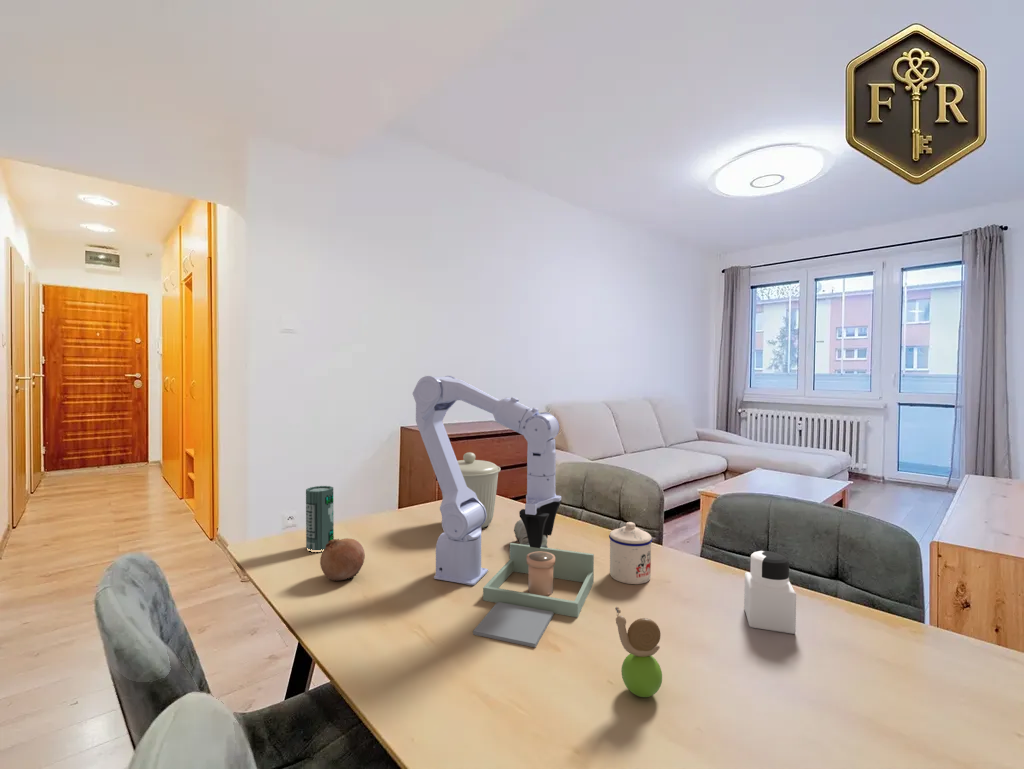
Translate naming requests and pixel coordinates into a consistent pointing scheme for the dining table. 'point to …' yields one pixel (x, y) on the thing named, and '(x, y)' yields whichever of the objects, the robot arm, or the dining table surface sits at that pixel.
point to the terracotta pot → (540, 573)
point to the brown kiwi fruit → (342, 559)
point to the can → (319, 517)
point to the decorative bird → (525, 534)
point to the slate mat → (514, 624)
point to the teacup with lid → (630, 554)
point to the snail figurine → (640, 655)
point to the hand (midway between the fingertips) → (541, 540)
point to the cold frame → (565, 567)
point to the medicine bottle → (770, 593)
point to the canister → (481, 481)
